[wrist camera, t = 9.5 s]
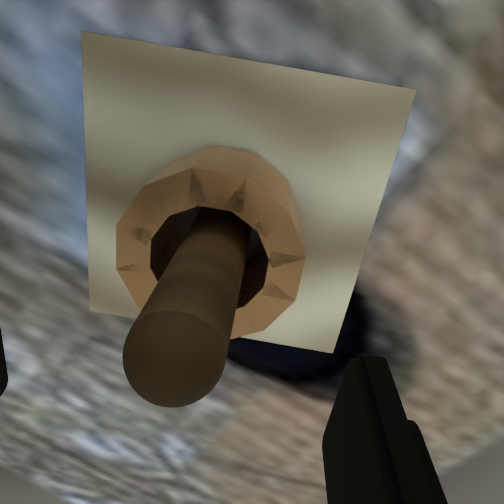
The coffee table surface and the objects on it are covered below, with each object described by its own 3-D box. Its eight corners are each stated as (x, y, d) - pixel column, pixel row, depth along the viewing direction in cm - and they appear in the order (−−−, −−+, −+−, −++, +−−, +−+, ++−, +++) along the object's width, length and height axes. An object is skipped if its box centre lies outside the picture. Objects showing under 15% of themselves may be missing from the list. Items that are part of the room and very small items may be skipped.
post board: (102, 34, 18) (-277, -36, 6) (403, 87, 18) (650, 128, 6) (104, 292, 24) (-78, 519, 12) (329, 331, 24) (374, 598, 12)
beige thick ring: (153, 134, 17) (116, 153, 13) (314, 163, 17) (322, 190, 13) (146, 276, 20) (115, 323, 16) (283, 300, 20) (283, 352, 16)
